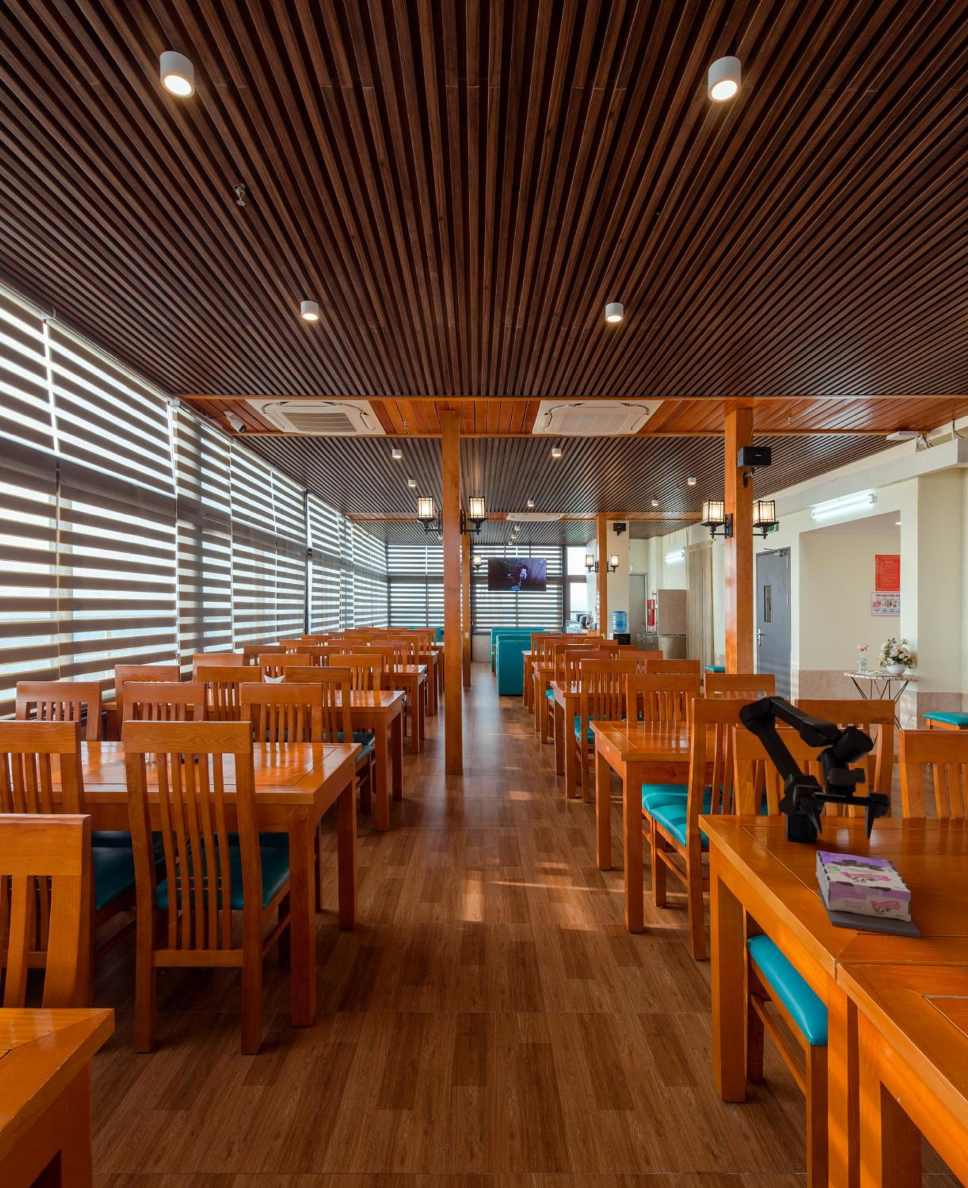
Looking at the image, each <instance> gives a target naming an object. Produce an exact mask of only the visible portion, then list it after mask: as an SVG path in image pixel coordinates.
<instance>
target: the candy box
mask: <svg viewBox="0 0 968 1188" xmlns="http://www.w3.org/2000/svg"><path fill="white" fill-rule="evenodd" d="M815 859H816V866H815V877H816V878H817V881H818V884H819V888H821V890H822V893H823V896H824V898H825V901H826V904H827V908H828V909H829V910H837V911H844V912H851V913H857V914H863V915H869V916H876V917H882V918H890V919H897V920H903V921H908V922H911V920H912V918H911V914H912V913H911V912H912V911H911V906H912V905H911V902H912V901H911V897H912V896H911V894H912V893H911V892H912V891H911V890H910V888H909V887H908V885H907V884H906V883H905V881H904V880H903V878H902V877H901V875H900V874H899V871H898V870H897V869H896V868H895V866H894V865H893V863H892V862H891V860H889V859H886V858H885V859H884V858H879V857H878V858H877V857H870V856H869V857H868V856H861V855H854V854H846V853H838V852H830V851H821V850H816V858H815Z"/></svg>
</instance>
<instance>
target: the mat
mask: <svg viewBox="0 0 968 1188" xmlns="http://www.w3.org/2000/svg"><path fill="white" fill-rule="evenodd" d="M817 889H818V891H817V892H818V894H819V897H820V899H821V901H822V903H823V906H824V909H825V912H826V914H827V913H828V914H827V916H828V918H830V919H829V921H830V923H831V925H832V926H835V927H844V928H850V929H855V928H860V929H859V930H863V929H864V930H863V931H869V932H870V931H871V932H878V933H884V934H885V933H886V934H891V933H893V935H898V934H899V936H906V937H913V938H921V932H920V931H919V929H918V927H917V926H916V925H915V923H914V922H913V920H912V919H911V922H908V921H903V920H897V919H890V918H882V917H876V916H869V915H863V914H857V913H851V912H844V911H837V910H829V909H828V908H827V904H826V901H825V898H824V896H823V893H822V890H821V887H818V888H817Z"/></svg>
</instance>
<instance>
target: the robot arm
mask: <svg viewBox="0 0 968 1188" xmlns="http://www.w3.org/2000/svg"><path fill="white" fill-rule="evenodd" d="M738 718H739V720H740V722H741V723H742V725H743V726H744V727H745V729H746V730H747V731H748V732H750V733H751V734H752V735H754V736H756V737H757V738H758V740H759V742H760V743H761V744H762V746H763V748H764V750H765V751H766V753H767V754H768V756H769V758H770V760H771V761H772V763H773V765H774V767H775V768H776V770H777V772H778V773H779V775H780V777H781V778H782V780H783V782H784V783H783V795H784V797H782V799H780V801H779V802H778V807H779V812H781V813H782V814H784V815H785V830H784V834H785V837H786V839H787V841H792V842H801V843H810V844H811V843H812V844H817V839H818V833H819V834H820V835H822V833H823V829H822V828H823V826H822V820H821V815H822V813H823V810H824V806H825V804H826V803H831V804H837V805H838V804H839V805H848V806H849V805H850V806H858V807H864V810H865V813H864V826H865V836H866V840H870V838H871V835H872V831H873V826H874V821H875V819H877V820H879V819H881V817H884V816H887V813H888V811H889V808H890V806H891V799H890V796H889V795H888V794H887V793H886V792H881V791H868V790H867V793H866V795H865V796H866V797H865V796H857V795H855V796H854V793H856V791H857V788H856V787H857V784H858V785H864V784H865V783H866V771H865V768H863V767H854V769H851V768H850V764H855V763H857V762H858V761H860V760H861V759H863V757H865V756H866V755H868V754H869V753H870V752H871V751H873V750H874V741H873V740H872V738H871V737H870V736H869V735H868V734H866V733H865V732H864V731H862V730H860V729H858V727H857V725H847V726H846V727H845V728H844V730H841V729H839V727H838V725H836V723H834V722H831V721H828V720H825V719H821V718H817V717H814V716H811V715H809V714H807V713H806V712H804V711H803V710H801V709H799V708H797V707H796V706H795V705H793V704H791V703H790V702H788V701H787V700H785V698H784V697H783V696H780V695H767V696H764V697H762V698H761V699H759V700H757V701H754V702H751V703H748V704H744V705H742V706H741V709H740V710H739V711H738ZM777 718H778V719H779V720H781V721H782V722H784V723H786V724H787V725H788V726H790V727H791V728H793V729H794V730H795V731H797V732H798V735H799V738H800V740H802V741H803V742H804V743H805V744H806V745H807V746H809V747H810V748H815V749H816V748H824V749H823V750H821V751H820V754H819V753H818V755H817V756H816V759H815V761H816V762H819V763H821V769H822V780H823V786H821V784H820V782H819V781H818V778H817V777H816V776H815V775H814V774H805V773H804V772H803V771H802V770H801V768H800V766H799V765H798V763H797V761H796V760H795V758H794V757H793V755H792V754H791V752H790V750H789V748H788V747H787V746H786V744H785V742H784V741H783V739H782V737H781V736H780V734H779V733H778V731H777V729H776V721H777Z"/></svg>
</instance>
